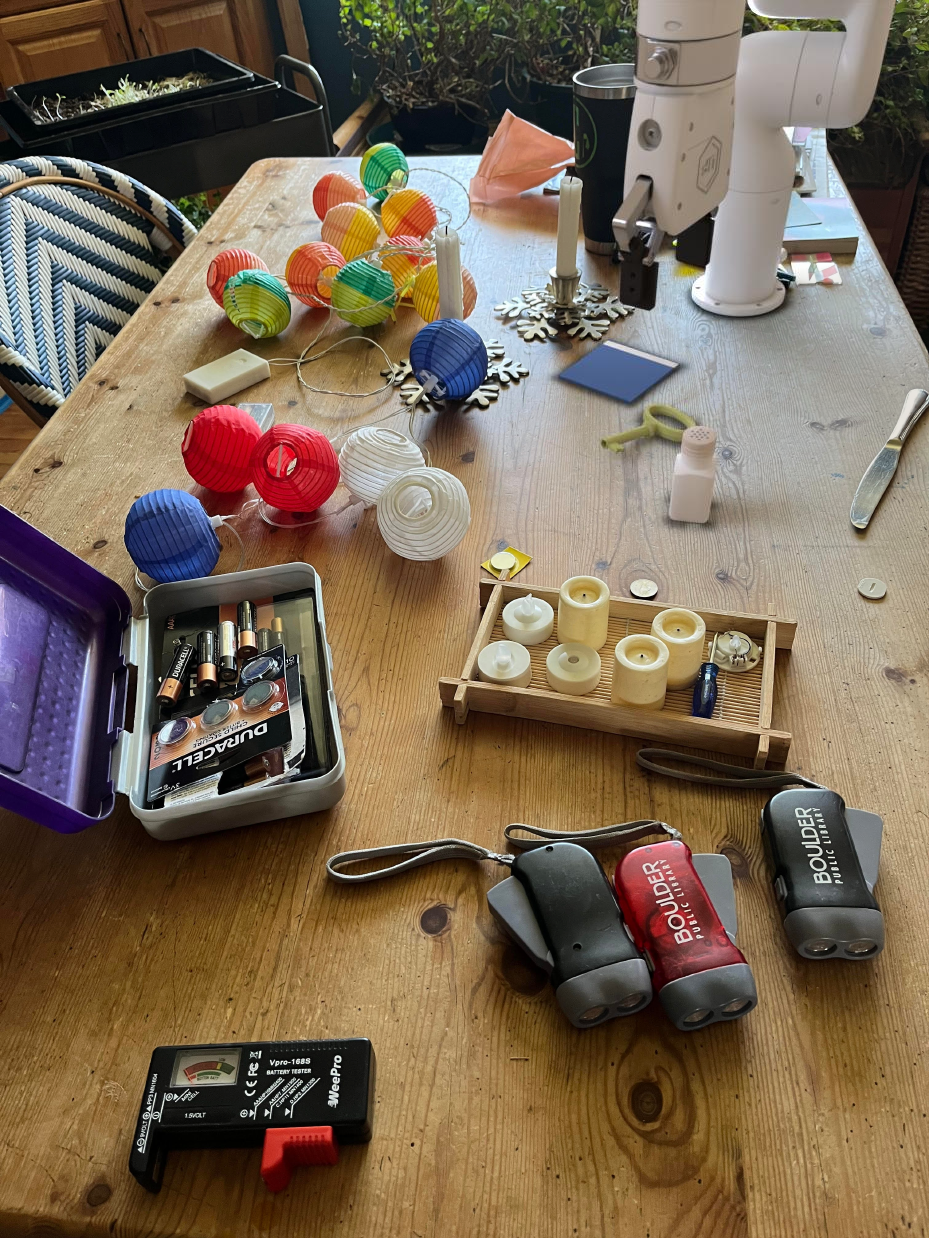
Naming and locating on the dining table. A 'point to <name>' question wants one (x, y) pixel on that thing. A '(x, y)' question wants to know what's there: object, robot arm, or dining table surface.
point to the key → (650, 428)
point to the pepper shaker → (694, 476)
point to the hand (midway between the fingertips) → (665, 283)
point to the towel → (619, 371)
